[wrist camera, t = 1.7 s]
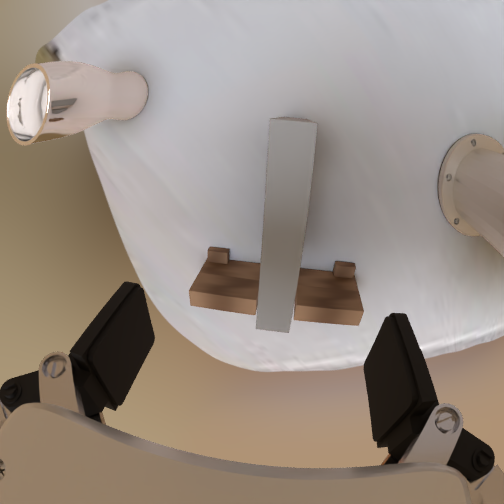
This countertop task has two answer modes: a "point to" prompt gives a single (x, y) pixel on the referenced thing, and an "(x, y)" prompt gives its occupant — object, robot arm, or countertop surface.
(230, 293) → the walnut slotted plate
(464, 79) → the countertop surface
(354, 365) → the countertop surface
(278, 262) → the gray square panel
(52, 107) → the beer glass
